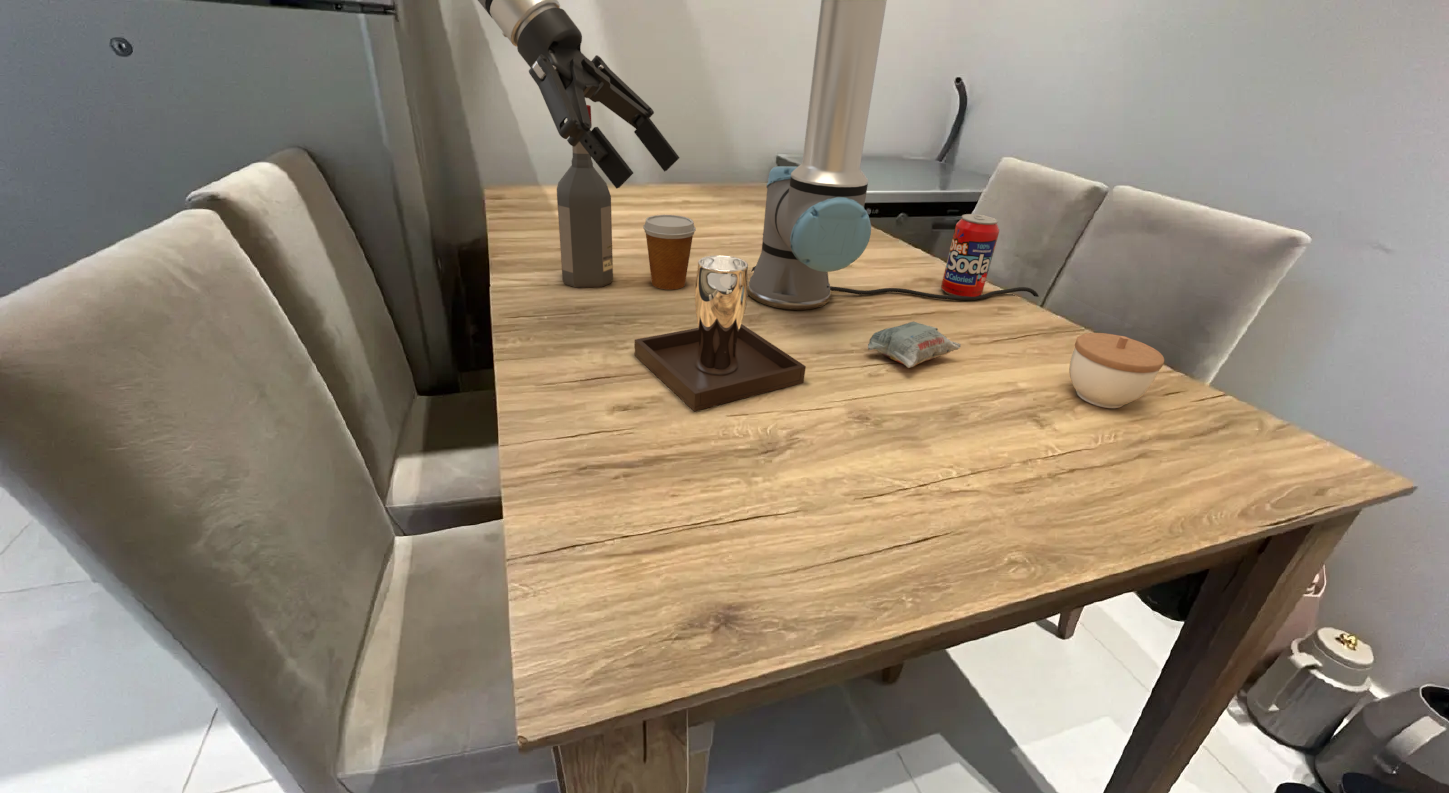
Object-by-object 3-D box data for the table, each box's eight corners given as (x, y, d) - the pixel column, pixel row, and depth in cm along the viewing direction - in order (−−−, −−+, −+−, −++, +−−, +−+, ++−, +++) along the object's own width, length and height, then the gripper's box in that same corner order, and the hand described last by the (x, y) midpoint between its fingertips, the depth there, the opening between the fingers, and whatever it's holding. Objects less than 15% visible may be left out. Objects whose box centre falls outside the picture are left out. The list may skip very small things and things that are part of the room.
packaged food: (956, 361, 97) (964, 331, 95) (906, 379, 91) (913, 347, 88) (911, 341, 103) (918, 312, 101) (862, 356, 97) (867, 326, 94)
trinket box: (1155, 422, 84) (1184, 359, 79) (1071, 410, 85) (1095, 348, 81) (1125, 385, 93) (1150, 327, 89) (1050, 375, 95) (1071, 317, 90)
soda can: (977, 289, 127) (997, 215, 120) (984, 303, 121) (1006, 225, 113) (937, 285, 128) (955, 211, 121) (942, 298, 122) (961, 220, 114)
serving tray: (735, 335, 100) (736, 320, 99) (803, 382, 88) (806, 366, 86) (634, 355, 92) (634, 339, 90) (694, 411, 79) (695, 393, 78)
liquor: (563, 288, 114) (550, 107, 99) (562, 272, 121) (550, 101, 106) (614, 287, 116) (609, 109, 101) (610, 271, 123) (605, 103, 109)
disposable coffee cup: (686, 295, 114) (688, 230, 108) (636, 289, 116) (635, 223, 110) (698, 279, 123) (701, 217, 117) (651, 273, 124) (652, 211, 118)
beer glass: (683, 369, 88) (687, 265, 80) (703, 350, 93) (709, 251, 86) (730, 380, 86) (738, 274, 78) (747, 360, 91) (756, 260, 84)
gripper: (575, 52, 89) (670, 176, 92) (452, 50, 68) (581, 210, 72) (608, 10, 85) (706, 141, 88) (487, -5, 64) (621, 167, 68)
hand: (650, 172), depth 80 cm, fingers open, 13 cm apart
